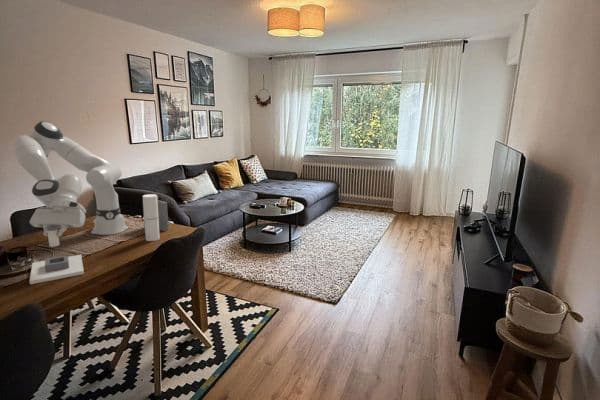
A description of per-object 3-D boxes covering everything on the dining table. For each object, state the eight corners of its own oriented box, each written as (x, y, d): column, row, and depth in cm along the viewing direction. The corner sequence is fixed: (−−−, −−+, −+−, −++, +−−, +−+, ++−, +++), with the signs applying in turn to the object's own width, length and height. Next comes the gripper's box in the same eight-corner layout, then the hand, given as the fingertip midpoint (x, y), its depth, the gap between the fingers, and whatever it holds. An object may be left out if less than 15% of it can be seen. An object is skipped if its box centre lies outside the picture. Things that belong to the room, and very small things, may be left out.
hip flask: (143, 228, 199) (141, 196, 194) (147, 226, 203) (145, 195, 198) (166, 231, 196) (164, 199, 191) (170, 229, 199) (168, 197, 195)
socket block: (33, 265, 144) (31, 256, 143) (81, 257, 155) (80, 248, 154) (30, 284, 129) (28, 274, 128) (84, 273, 139) (82, 264, 138)
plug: (51, 243, 140) (48, 226, 138) (60, 243, 141) (58, 225, 139) (48, 246, 137) (45, 228, 135) (57, 246, 138) (55, 228, 136)
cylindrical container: (154, 241, 178) (151, 197, 172) (142, 240, 180) (139, 196, 174) (162, 237, 185) (159, 194, 179) (151, 236, 186) (148, 193, 181)
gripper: (33, 203, 141) (20, 232, 134) (83, 203, 143) (74, 232, 136) (41, 210, 146) (29, 238, 139) (90, 210, 149) (81, 238, 141)
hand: (52, 235), depth 138 cm, fingers closed on plug, 3 cm apart
